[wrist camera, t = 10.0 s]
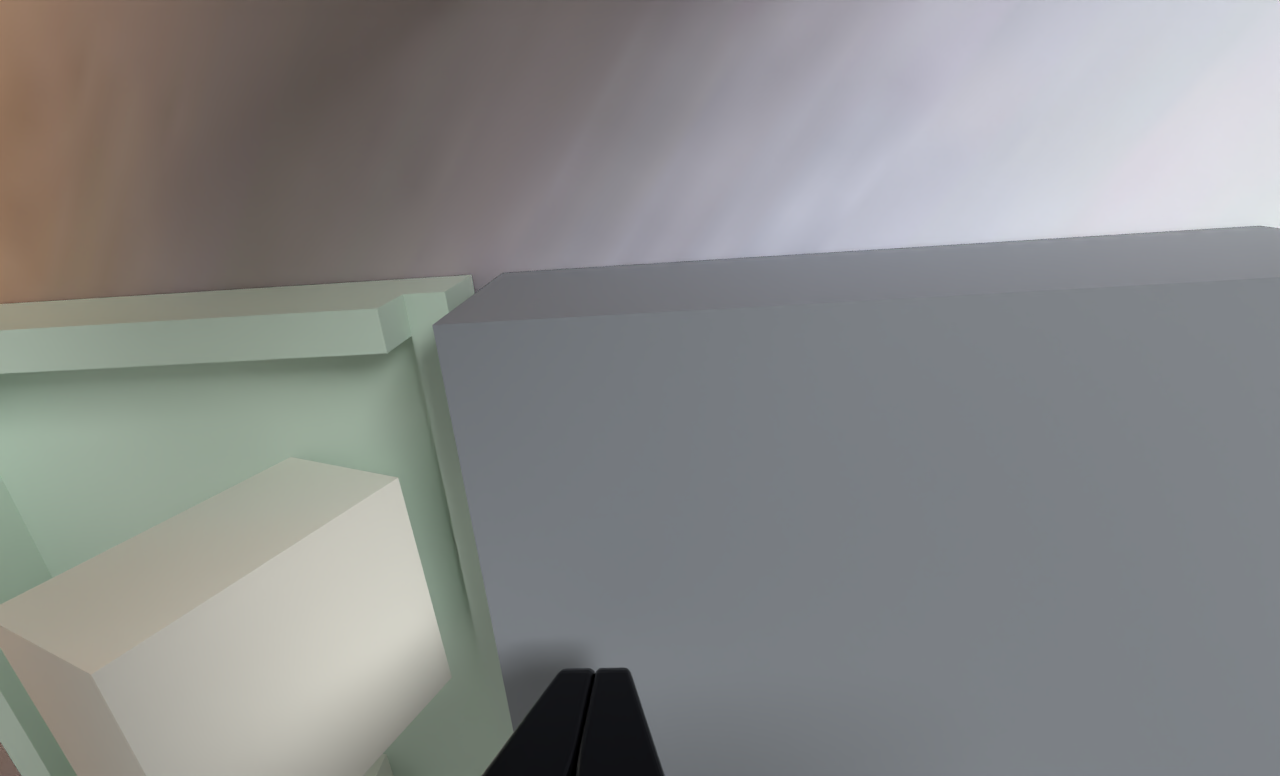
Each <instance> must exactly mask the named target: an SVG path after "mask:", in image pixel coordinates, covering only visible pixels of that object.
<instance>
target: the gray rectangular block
mask: <svg viewBox="0 0 1280 776" xmlns="http://www.w3.org/2000/svg"><path fill="white" fill-rule="evenodd" d="M432 327H433V332H434V337H435V342H436V347H437V352H438V357H439V362H440V367H441V372H442V377H443V382H444V387H445V392H446V397H447V402H448V407H449V412H450V417H451V422H452V427H453V432H454V437H455V442H456V447H457V452H458V457H459V462H460V467H461V472H462V477H463V482H464V487H465V492H466V497H467V502H468V507H469V512H470V517H471V522H472V527H473V532H474V537H475V542H476V547H477V552H478V557H479V562H480V567H481V572H482V577H483V582H484V587H485V592H486V597H487V602H488V607H489V612H490V617H491V622H492V627H493V632H494V637H495V642H496V647H497V652H498V657H499V662H500V667H501V672H502V677H503V682H504V687H505V692H506V697H507V702H508V707H509V712H510V717H511V722H512V727H513V732H514V731H515V730H516V728H517V727H518V726H519V724H520V723H521V722H522V720H523V719H524V717H525V716H526V715H527V713H528V712H529V711H530V709H531V708H532V707H533V705H534V704H535V703H536V701H537V700H538V699H539V697H540V696H541V695H542V693H543V692H544V691H545V689H546V688H547V687H548V685H549V684H550V683H551V681H552V680H553V679H554V677H555V676H556V675H557V673H558V672H559V671H560V670H562V669H564V668H591V669H593V670H594V671H595V673H596V671H597V670H598V669H599V668H619V667H624V668H628V669H629V670H630V672H631V674H632V677H633V680H634V683H635V686H636V689H637V692H638V696H639V699H640V702H641V705H642V708H643V711H644V714H645V717H646V720H647V723H648V726H649V729H650V732H651V735H652V738H653V741H654V744H655V747H656V750H657V753H658V756H659V759H660V762H661V766H662V769H663V772H664V775H665V776H1280V228H1272V227H1265V226H1250V227H1234V228H1218V229H1201V230H1185V231H1169V232H1153V233H1137V234H1121V235H1105V236H1089V237H1073V238H1056V239H1040V240H1024V241H1008V242H992V243H976V244H960V245H944V246H928V247H912V248H895V249H879V250H863V251H847V252H831V253H815V254H799V255H783V256H767V257H750V258H734V259H718V260H702V261H686V262H670V263H654V264H638V265H622V266H606V267H589V268H573V269H557V270H541V271H525V272H509V273H502V274H501V275H499V276H498V277H497V278H495V279H494V280H493V281H491V282H490V283H488V284H487V285H486V286H484V287H483V288H482V289H480V290H479V291H478V292H476V293H475V294H474V295H472V296H471V297H469V298H468V299H467V300H465V301H464V302H463V303H461V304H460V305H459V306H457V307H456V308H455V309H453V310H452V311H450V312H449V313H448V314H446V315H445V316H444V317H442V318H441V319H440V320H438V321H437V322H436V323H434V324H433V325H432Z"/></svg>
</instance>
